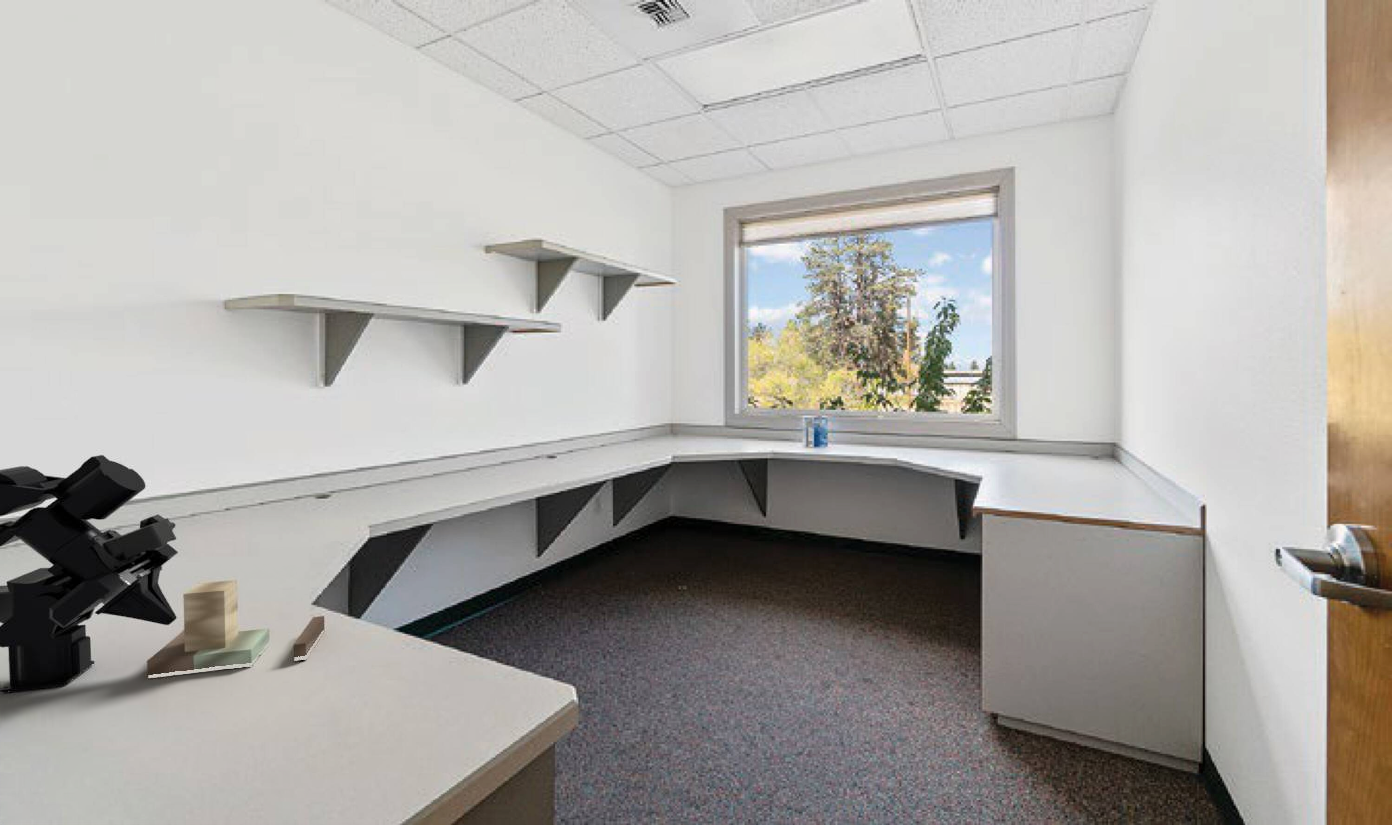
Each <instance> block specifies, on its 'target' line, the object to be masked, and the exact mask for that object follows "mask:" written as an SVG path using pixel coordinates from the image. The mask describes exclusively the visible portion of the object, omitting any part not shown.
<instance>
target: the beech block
mask: <svg viewBox="0 0 1392 825" xmlns="http://www.w3.org/2000/svg"><path fill="white" fill-rule="evenodd" d="M238 603H239V602H238V580H237V579H236V580H221V581H209V582H198V583H197V584H195V585H194V586H193V587H191V588H189V589H188V590H187V591H185V592H184V593H183V631H184V637H185V652H189V651H198V650H207V649H216V648H225V647H227V645H228V644H229V643H230V642H231V641H232V640H233V639H234V638H235V637H236V636H237V635H238V631H239V606H238Z"/></svg>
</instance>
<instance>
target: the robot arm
mask: <svg viewBox="0 0 1392 825" xmlns="http://www.w3.org/2000/svg"><path fill="white" fill-rule="evenodd" d="M145 489H146V482H145V480H144V479H143V477H142V476H141V475H140V474H139V473H138V472H137V470H136V471H135V470H134V469H133V468H129V467H127V466H126V465H124V464H123V463H119V462H116V461H114V460H110V459H108V458H107V457H106V456H105V455H103V454H102V455H101V454H100V455H95V456H91V457H89V458H88V459H86V461H84V462H83V463H82V464H81V465H80V467H79V468H77V469H76V470H75V471H73V472H72V473H71V474H69V475H68V476H67V477H61V476H52V475H45V474H44V473H42V472H41V471H39V470H38V469H36V468H33V467H30V466H28V465H27V466H24V465H23V466H22V465H21V466H15V467H10V468H3V469H0V517H4V516H7V515H11V514H14V513H18V512H22V511H26V510H28V511H27V512H26V513H24V514H23V515H21V516H20V517H18V519H16V520H15V521H12V520H10V521H6V522H3V523H1V524H0V547H4V546H7V545H9V544H11V543H15V542H17V541H22V542H23V543H25V545H26V546H28V547H30V548H31V549H32V550H33V551H35V552H36V553H37V554H38V555H40V556H41V557H42V558H44V559H45V560H46V561H48V562H49V563H50V564H52V566H50V567H40V568H37V569H35V570H31V571H30V572H27V573H25V574H22V575H20V576H17V577H15V578H12V579H10V580H7V581H6V585H0V624H1V625H0V648H8V673H9V674H8V675H9V682H8V683H7V684H5V685H3V686H2V687H0V692H5V693H13V692H12V691H14V692H20V691H19V690H22V691H28V690H31V691H32V690H38V689H46V688H45V687H48V688H53V686H56V687H61V686H60V685H63V686H65V685H64V684H66V685H68V684H69V683H71V682H72V681H73V680H72V679H74V678H75V677H76V678H77V676H78V675H79V674H80V673H81V672H83V671H84V670H86V669H87V668H89V667H90V666H91V665H92V664H94V665H95V660H92V648H91V644H92V643H91V641H92V640H91V637H90V636H89V635H87V629H86V628H87V627H86V624H81V623H83V622H85V621H88V620H90V619H91V618H92V616H93V613H94V614H96V615H98V616H100V615H101V614H104V615H105V614H106V615H111V616H116V617H123V618H130V619H135V620H140V621H144V622H149V623H154V624H159V625H164V626H169V625H171V624H172V623H173V622H175V621H176V619H178V618H177V617H178V616H176V613H175V612H174V610H173V609H172V606H171V605H170V603H169V601H168V600H167V598H166V596H165V595H164V593H163V591H162V588H161V587H160V584H159V578H160V573H161V571H162V570H163V565H165V564H166V563H167V562H169V560H171V559H172V558H173V557H175V556H176V555H177V554H178V553H179V551H177V550H176V549H175V548H174V547H173V546H171V545H170V544H168V543H169V542H172V541H175V540H177V537H176V535H175V533H174V532H173V530H174V529H175V528H176V523H175V522H173V521H170V520H169V518H168V517H166V518H164V517H163V516H162V515H160V514H155V515H152V516H149V517H147V518H144V519H143V520H140V522H139V528H137V529H134V530H132V531H130V532H127V533H125V534H120V533H119V532H118V531H116V530H113V529H112V530H111V529H108V530H106V531H103V532H102V531H101V530H100V529H99V528H98V527H96V526H95V525H94V524H92V523H91V522H90V521H89V520H99V521H100V520H105V519H107V518H108V517H110V516H111V515H113V514H114V513H116V511H118V510H119V509H120V508H122V507H123V506H124V505H126V503H128V502H129V501H131V500H132V499H133V498H135V497H136V496H138V494H140V493H142V492H143V491H144V490H145ZM52 499H55V500H54V501H53V502H51V503H49V504H48V505H47V506H45V507H44V506H41V505H42V504H44V502H46V501H48V500H52ZM39 506H40V507H39ZM100 604H103V605H102V606H101V607H100V608H99V609H97V610H96V611H95V609H96V608H97V607H98V606H99V605H100ZM94 611H95V612H94ZM91 667H92V666H91ZM91 667H90V668H91ZM90 668H89V669H90ZM87 670H88V669H87ZM87 670H86V671H87ZM83 673H84V672H83ZM80 675H81V674H80ZM80 675H79V676H80ZM79 676H78V677H79ZM76 678H75V679H76ZM75 679H74V680H75ZM71 680H72V681H71ZM70 681H71V682H70ZM68 682H69V683H68ZM67 683H68V684H67ZM8 691H9V692H8Z"/></svg>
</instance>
